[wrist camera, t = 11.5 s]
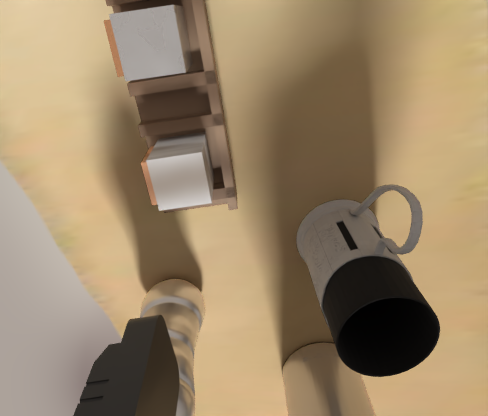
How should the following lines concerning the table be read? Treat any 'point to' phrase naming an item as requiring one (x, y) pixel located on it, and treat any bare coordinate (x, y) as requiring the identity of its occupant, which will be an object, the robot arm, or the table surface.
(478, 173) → the table surface
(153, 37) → the wood-topped grey cube
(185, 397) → the plastic bottle
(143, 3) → the brown wooden rack
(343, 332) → the glass holder
